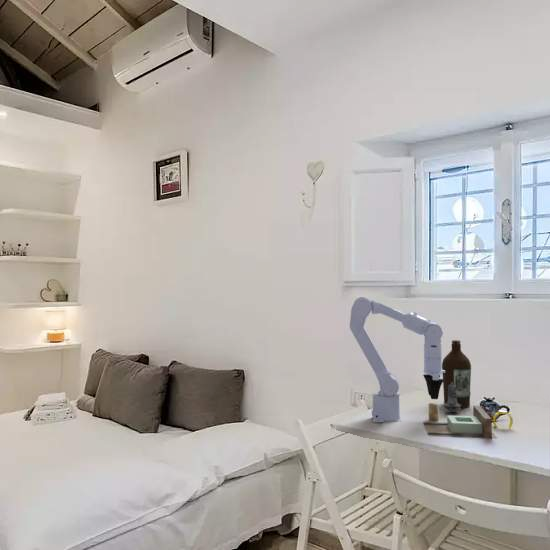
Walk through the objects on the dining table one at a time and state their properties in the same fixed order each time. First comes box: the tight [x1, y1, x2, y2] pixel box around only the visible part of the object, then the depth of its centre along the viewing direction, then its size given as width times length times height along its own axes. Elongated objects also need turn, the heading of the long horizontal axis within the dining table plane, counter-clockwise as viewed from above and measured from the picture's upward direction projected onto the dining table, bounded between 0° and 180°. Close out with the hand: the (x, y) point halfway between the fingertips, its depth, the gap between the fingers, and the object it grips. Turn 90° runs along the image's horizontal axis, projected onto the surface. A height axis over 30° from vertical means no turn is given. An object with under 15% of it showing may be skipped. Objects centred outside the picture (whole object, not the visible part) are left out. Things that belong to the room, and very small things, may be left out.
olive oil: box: [441, 339, 472, 409], centre depth 200 cm, size 11×11×25 cm
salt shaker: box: [443, 382, 461, 415], centre depth 187 cm, size 6×6×12 cm
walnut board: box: [422, 405, 498, 440], centre depth 167 cm, size 20×16×7 cm
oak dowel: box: [428, 402, 439, 422], centre depth 178 cm, size 3×3×6 cm
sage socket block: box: [446, 414, 482, 434], centre depth 166 cm, size 9×9×3 cm
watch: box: [492, 409, 514, 429], centre depth 169 cm, size 6×3×6 cm, turn 86°
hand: (433, 397), depth 178 cm, fingers open, 5 cm apart
